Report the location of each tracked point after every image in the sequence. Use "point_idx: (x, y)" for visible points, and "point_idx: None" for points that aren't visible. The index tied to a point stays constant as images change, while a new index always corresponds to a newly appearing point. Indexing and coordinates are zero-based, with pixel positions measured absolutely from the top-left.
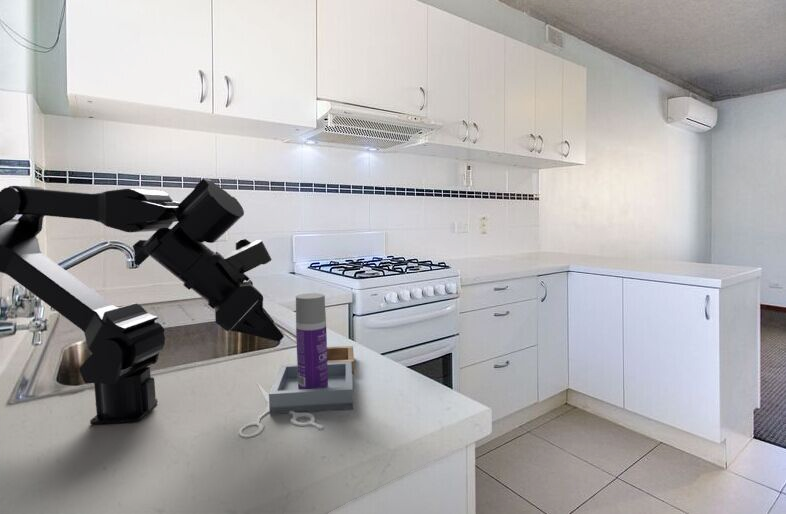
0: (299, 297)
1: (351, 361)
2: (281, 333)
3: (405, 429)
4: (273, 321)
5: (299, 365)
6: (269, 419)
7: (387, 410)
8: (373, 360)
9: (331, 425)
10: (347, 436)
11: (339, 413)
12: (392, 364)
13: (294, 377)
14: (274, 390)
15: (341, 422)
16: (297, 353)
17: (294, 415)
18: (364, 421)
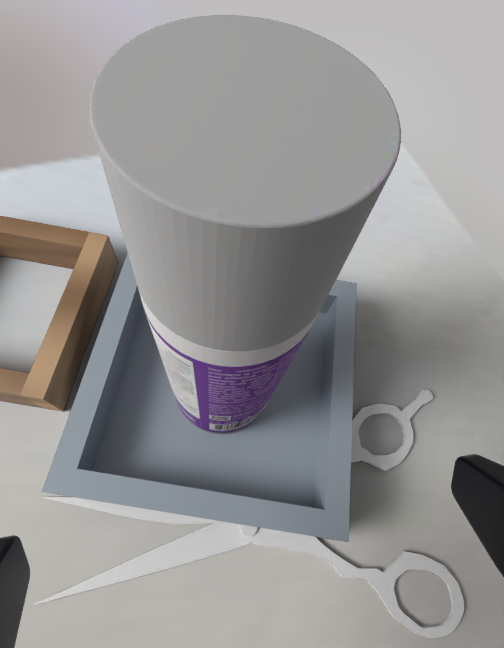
0: (320, 196)
1: (105, 242)
2: (502, 467)
3: (441, 240)
4: (14, 538)
5: (254, 409)
6: (360, 535)
7: (358, 246)
8: (25, 191)
9: (413, 369)
10: (464, 345)
11: (355, 342)
12: (86, 161)
13: (100, 441)
14: (320, 520)
15: (401, 346)
16: (240, 404)
17: (361, 457)
18: (402, 299)
